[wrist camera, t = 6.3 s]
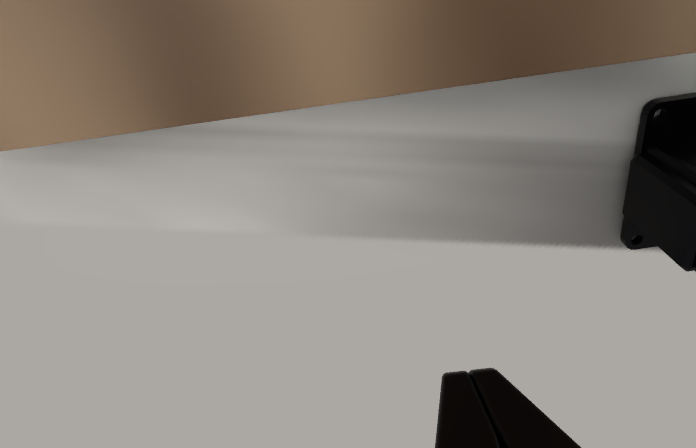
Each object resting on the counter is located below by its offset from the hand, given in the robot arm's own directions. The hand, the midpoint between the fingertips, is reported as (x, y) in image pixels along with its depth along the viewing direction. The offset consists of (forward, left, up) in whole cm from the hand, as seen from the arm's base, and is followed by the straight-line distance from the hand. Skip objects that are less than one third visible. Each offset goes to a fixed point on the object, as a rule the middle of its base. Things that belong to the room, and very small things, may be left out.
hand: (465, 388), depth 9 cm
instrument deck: (+4, -9, -7) cm, 12 cm away
